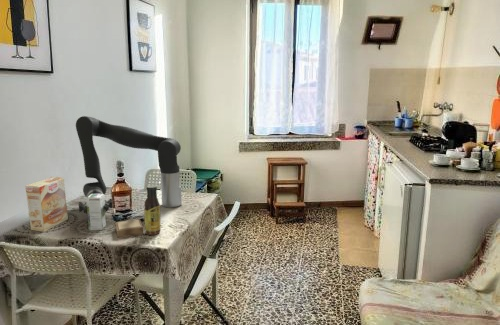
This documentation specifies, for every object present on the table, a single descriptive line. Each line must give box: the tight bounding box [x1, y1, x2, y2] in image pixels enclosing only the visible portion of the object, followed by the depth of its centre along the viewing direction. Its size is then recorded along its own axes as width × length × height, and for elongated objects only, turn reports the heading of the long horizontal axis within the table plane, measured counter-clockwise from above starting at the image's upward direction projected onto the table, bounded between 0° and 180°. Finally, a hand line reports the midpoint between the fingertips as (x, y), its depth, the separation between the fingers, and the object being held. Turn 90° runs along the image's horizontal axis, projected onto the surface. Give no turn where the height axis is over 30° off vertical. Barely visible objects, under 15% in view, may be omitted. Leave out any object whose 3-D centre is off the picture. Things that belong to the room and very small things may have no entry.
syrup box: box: [85, 194, 107, 231], centre depth 158 cm, size 6×6×14 cm
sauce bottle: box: [143, 184, 162, 236], centre depth 153 cm, size 6×6×20 cm
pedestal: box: [115, 218, 144, 239], centre depth 156 cm, size 10×10×3 cm
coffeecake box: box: [24, 176, 69, 232], centre depth 161 cm, size 15×7×20 cm, turn 168°
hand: (96, 210), depth 156 cm, fingers closed on syrup box, 7 cm apart
